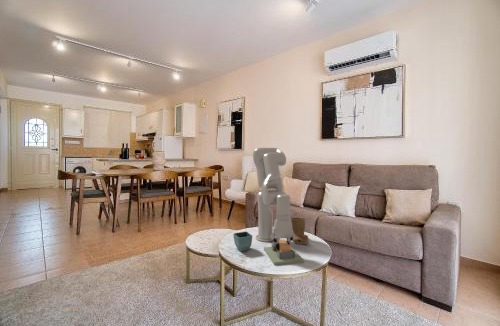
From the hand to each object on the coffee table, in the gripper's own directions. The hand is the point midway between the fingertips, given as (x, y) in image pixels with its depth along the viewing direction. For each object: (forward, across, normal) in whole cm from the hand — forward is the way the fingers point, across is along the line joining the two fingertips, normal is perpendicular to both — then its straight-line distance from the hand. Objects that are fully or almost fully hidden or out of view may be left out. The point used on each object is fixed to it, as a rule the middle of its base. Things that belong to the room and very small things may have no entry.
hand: (282, 249), depth 138 cm
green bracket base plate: (+4, 0, 0) cm, 4 cm away
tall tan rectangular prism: (+1, 0, 0) cm, 1 cm away
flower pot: (+4, +20, -13) cm, 24 cm away
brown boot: (+4, -18, -20) cm, 27 cm away
